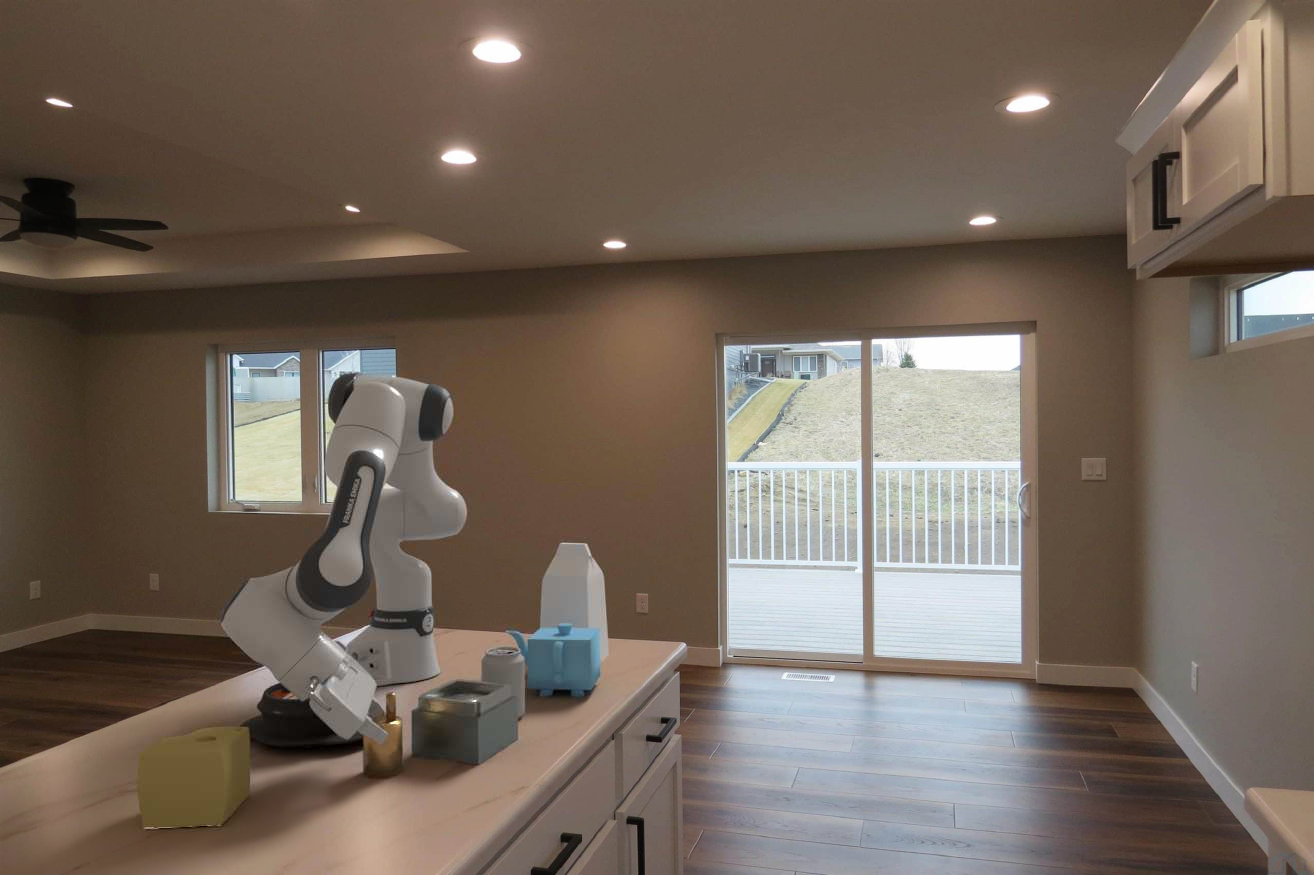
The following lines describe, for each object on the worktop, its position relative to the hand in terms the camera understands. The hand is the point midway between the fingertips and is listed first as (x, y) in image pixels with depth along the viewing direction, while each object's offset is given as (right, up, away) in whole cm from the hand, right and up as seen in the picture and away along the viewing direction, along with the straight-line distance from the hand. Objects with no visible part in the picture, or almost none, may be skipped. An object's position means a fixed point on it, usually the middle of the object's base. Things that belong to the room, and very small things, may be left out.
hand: (387, 731), depth 130 cm
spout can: (-1, -6, 0) cm, 6 cm away
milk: (+22, -6, +63) cm, 67 cm away
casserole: (-17, -6, +16) cm, 24 cm away
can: (+13, -6, +25) cm, 29 cm away
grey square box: (+10, -6, +10) cm, 15 cm away
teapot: (+19, -6, +42) cm, 46 cm away
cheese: (-21, -6, -14) cm, 26 cm away
